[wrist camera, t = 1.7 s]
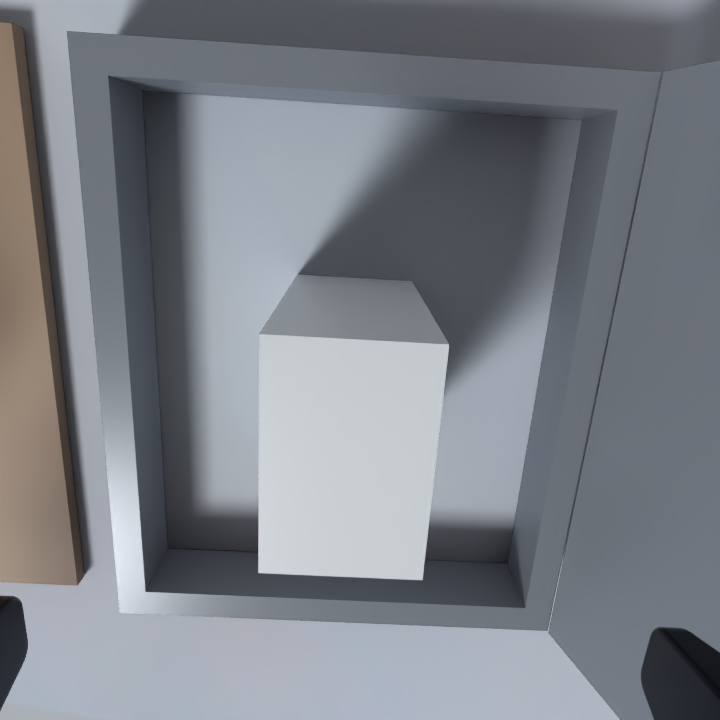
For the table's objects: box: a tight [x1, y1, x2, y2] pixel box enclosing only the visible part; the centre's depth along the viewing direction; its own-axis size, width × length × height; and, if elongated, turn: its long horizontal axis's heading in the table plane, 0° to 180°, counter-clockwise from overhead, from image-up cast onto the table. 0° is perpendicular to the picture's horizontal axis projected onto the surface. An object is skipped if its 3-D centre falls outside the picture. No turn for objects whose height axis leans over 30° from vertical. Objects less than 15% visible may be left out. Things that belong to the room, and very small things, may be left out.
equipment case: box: [67, 31, 662, 631], centre depth 15 cm, size 24×19×10 cm
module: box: [258, 274, 449, 580], centre depth 16 cm, size 4×6×8 cm
